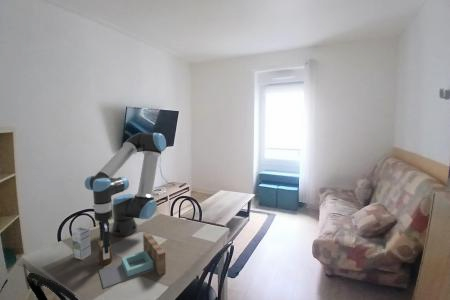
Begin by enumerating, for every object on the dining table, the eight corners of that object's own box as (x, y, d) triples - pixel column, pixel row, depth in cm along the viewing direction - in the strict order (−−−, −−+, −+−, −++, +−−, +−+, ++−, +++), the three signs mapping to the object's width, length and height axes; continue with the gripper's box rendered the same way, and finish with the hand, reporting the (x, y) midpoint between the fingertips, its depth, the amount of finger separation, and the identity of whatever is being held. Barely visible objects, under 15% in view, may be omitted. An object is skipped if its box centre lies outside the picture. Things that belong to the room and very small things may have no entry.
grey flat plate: (98, 270, 106) (98, 270, 106) (146, 255, 119) (146, 254, 119) (103, 288, 95) (103, 287, 95) (155, 269, 108) (155, 268, 108)
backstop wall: (143, 251, 123) (143, 233, 122) (149, 249, 125) (148, 232, 124) (159, 275, 104) (158, 254, 103) (165, 272, 106) (165, 252, 104)
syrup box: (91, 254, 119) (90, 227, 118) (81, 260, 114) (79, 233, 112) (83, 252, 121) (82, 226, 120) (73, 258, 116) (71, 231, 114)
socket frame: (121, 263, 111) (121, 258, 111) (146, 256, 118) (145, 250, 117) (127, 277, 102) (127, 270, 101) (153, 267, 108) (153, 261, 108)
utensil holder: (109, 265, 111) (108, 241, 109) (96, 265, 110) (95, 242, 109) (114, 258, 116) (113, 235, 115) (101, 258, 116) (100, 236, 115)
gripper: (92, 206, 116) (94, 249, 118) (97, 219, 100) (99, 268, 103) (108, 203, 120) (110, 244, 123) (115, 215, 105) (117, 262, 107)
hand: (105, 255), depth 113 cm, fingers closed on utensil holder, 6 cm apart
